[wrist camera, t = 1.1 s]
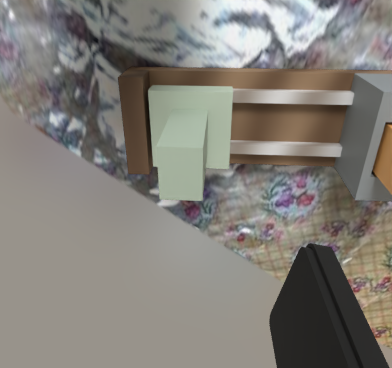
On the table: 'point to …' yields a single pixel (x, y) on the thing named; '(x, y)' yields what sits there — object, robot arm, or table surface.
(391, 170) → the button
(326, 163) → the track
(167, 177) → the carriage
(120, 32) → the table surface
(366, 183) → the grey block
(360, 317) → the robot arm
